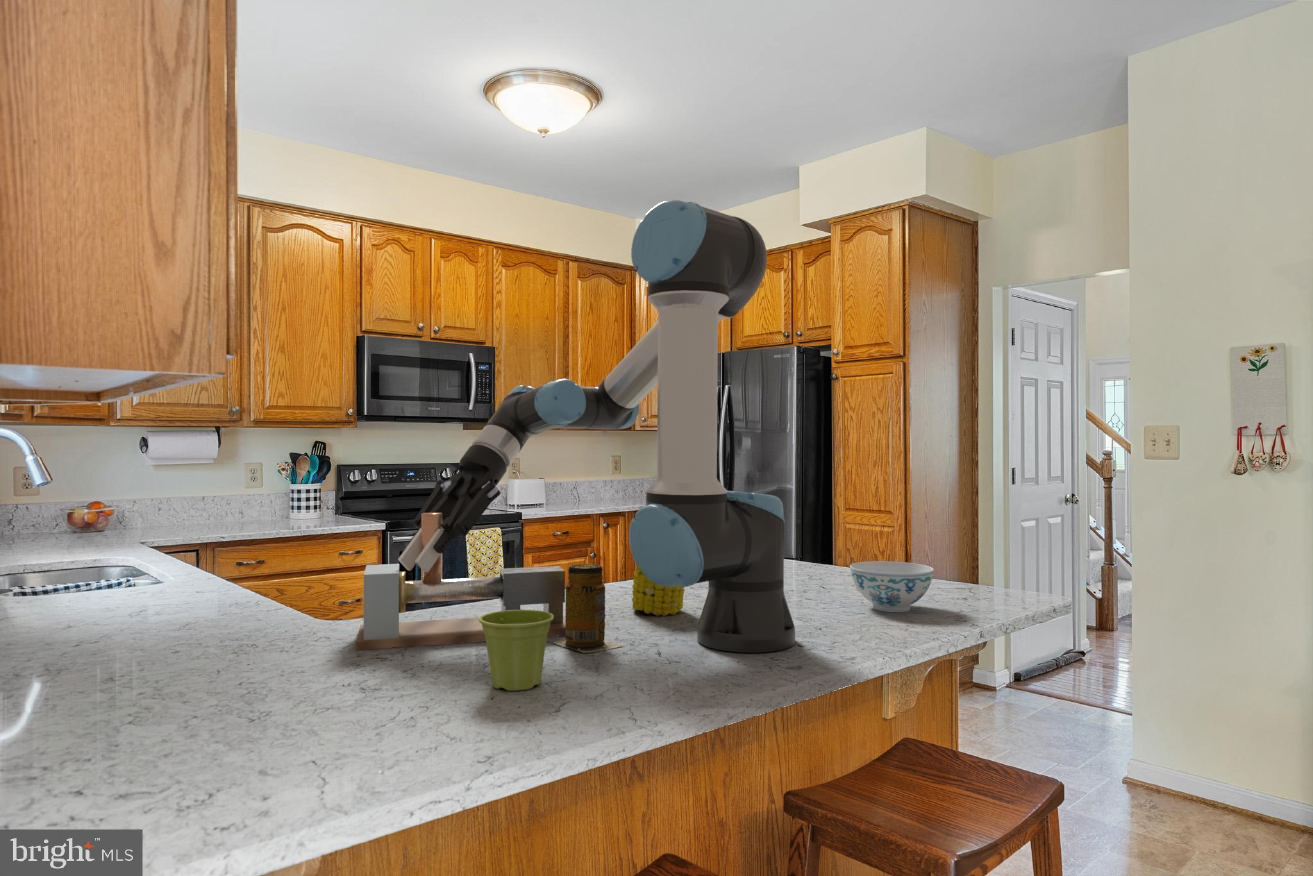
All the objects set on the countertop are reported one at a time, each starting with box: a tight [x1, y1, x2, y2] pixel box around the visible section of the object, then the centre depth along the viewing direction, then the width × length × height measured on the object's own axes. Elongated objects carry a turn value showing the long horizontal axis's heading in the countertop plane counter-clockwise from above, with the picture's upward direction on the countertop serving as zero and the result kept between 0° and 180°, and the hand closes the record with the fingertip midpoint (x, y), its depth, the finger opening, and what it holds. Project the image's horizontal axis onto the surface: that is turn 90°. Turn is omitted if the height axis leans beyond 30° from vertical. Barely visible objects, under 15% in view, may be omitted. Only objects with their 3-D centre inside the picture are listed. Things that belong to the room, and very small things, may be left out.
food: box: [631, 564, 685, 617], centre depth 147 cm, size 15×12×10 cm
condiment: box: [552, 563, 623, 654], centre depth 123 cm, size 7×8×12 cm
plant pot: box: [478, 609, 554, 692], centre depth 103 cm, size 9×9×9 cm
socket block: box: [363, 563, 400, 640], centre depth 126 cm, size 5×10×10 cm, turn 17°
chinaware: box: [849, 560, 935, 613], centre depth 150 cm, size 15×15×8 cm
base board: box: [355, 617, 566, 651], centre depth 130 cm, size 32×12×1 cm, turn 107°
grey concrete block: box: [499, 565, 566, 624], centre depth 133 cm, size 10×5×9 cm, turn 107°
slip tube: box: [399, 513, 503, 614], centre depth 129 cm, size 20×6×16 cm, turn 107°
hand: (412, 565), depth 125 cm, fingers closed on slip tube, 3 cm apart
